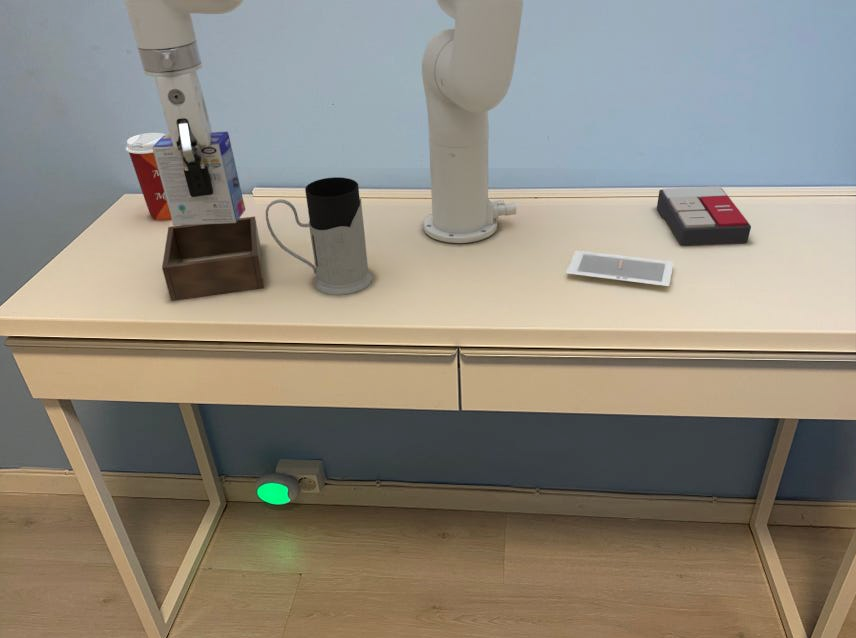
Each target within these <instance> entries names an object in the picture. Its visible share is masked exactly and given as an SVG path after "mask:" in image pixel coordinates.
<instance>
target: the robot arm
mask: <svg viewBox="0 0 856 638" xmlns="http://www.w3.org/2000/svg"><path fill="white" fill-rule="evenodd" d="M124 2H125V6H126V11H127V14H128V17H129V21H130V25H131V28H132V32H133V35H134V40H135V43H136V46H137V51H138V54H139V57H140V61H141V65H142V69H143V72H144V75H146V76H148V77H154V81H155V84H156V89H157V92H158V93H157V94H158V96H159V100H160V104H161V108H162V111H163V115H164V119H165V123H166V127H167V129H168V134H169V135H170V137H171V140H172V143H173V146H174V148H175V149H177V150H180V152H181V156H182V161H183V166H184V174H185V178H186V181H187V185H188V189H189V193H190V196H191V197H198V196H206V195H212V194H213V188H212V184H211V180H210V176H209V171H208V167H207V166H205V164H204V159H203V154H202V148H201V146H202V145H205V146H206V147H208V146H209V145H210V144H211V132H212V125H211V120H210V116H209V113H208V110H207V106H206V102H205V98H204V93H203V90H202V86H201V83H200V79H199V75H198V73H197V71H199V70H200V69H202V68H203V63H202V59H201V53H200V49H199V46H198V45H199V44H198V41H197V37H196V33H195V29H194V23H193V19H192V16H191V15H192V14H202V15H223V14H227V13H232V12H233V11H235V10H236V9H238V8H239V7H240V6H241V5H242V4H243V2H244V0H124ZM436 3H437V5H438V6H439V8H440V9H441V11H443V13H445V14H446V15H447V16H448V17H450V18H451V19H453V20H454V28H448V29H444V30H442V31H440V32H438V33H437V34H434V35H433V37H431V39H430V40H429V41H428V43H427V44H426V45H425V46H426V47H425V49H424V51H423V54H422V60H421V76H422V81H423V82H422V83H423V90H424V95H425V103H426V110H427V122H428V123H427V125H428V148H429V170H430V171H429V172H430V173H429V174H430V196H431V213H430V214H429V215H428V216H427V217H426V218H425V219H424V221H423V230H424V233H425V234H426V236H428V237H429V238H432V239H433V240H437V241H439V242H444V243H450V244H467V243H475V242H478V241H482V240H485V239H487V238H489V237H491V236H492V235H494V233H496V231H497V230H498V220H497V219H499V217H500V216H501V217H502V216H512V215H516V214H517V206H516V203H515V202H511V203H505V200H504V199H498V200H495V201H491V200H490V199H489V136H490V135H489V131H490V130H489V113H488V112H489V111H491V110H493V109H495V108H496V107H497V106H498V105H500V103H501V102H502V101H503V100H504V99H505V97H506V95H507V93H508V91H509V90H510V87H511V84H512V80H513V76H514V75H513V74H514V69H515V63H516V56H517V50H518V44H519V37H520V29H521V21H522V15H523V8H524V7H523V6H524V0H436ZM192 142H197V145H196V146H192ZM194 151H197V152H198V156H197V154H194Z"/></svg>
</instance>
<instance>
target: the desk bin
mask: <svg viewBox="0 0 856 638" xmlns="http://www.w3.org/2000/svg"><path fill="white" fill-rule="evenodd" d="M247 251H251V253H249V254H241V255H233V256H226V257H225V256H224V257H218V258H211V259H210V258H208V259H203V260H194V261H193V260H192V261H186V262H182V260H184V259H192V258H200V257H208V256H216V255H224V254H231V253H239V252H247ZM262 256H263V255H262V246H261V240H260V235H259V229H258V224H257V219H256V216H248V217H247V216H246V217H240V218H239V220H238V221H237V222H236V223H223V224H198V225H178V226H174V225H172V226H168V227H167V234H166V240H165V247H164V253H163V259H162V260H163V261H162V266H161V269H162V273H163V277H164V280H165V284H166V287H167V291H168V294H169V298H170V301H172V302H173V301H179V300H187V299H192V298H199V297H200V298H201V297H208V296H214V295H221V294H229V293H236V292H243V291H250V290H251V291H252V290H258V289H265V282H264V281H265V279H264V269H263V257H262Z"/></svg>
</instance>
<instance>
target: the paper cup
mask: <svg viewBox="0 0 856 638" xmlns="http://www.w3.org/2000/svg"><path fill="white" fill-rule="evenodd" d="M165 135H166V134H165V133H163V132H146V133H140V134H136V135H134V136H130V137H129V138H127V140H126V146H125V151H126V152H128V154H129V157H130V161H131V163H132V166H133V169H134V173H135V174H136V178H137V181H138V184H139V186H140V187H139V188H140V190H141V193H142V195H143V198H144V201H145V204H146V208H147V210H148V213H149V215H150V217H151V219H153V220H155V221H167V220H172V218H171V214H170V210H169V207H168V203H167V199H166V196H165V192H164V189H163V185H162V182H161V178H160V174H159V171H158V167H157V163H156V160H155V156H154V153H153V149H152V147H153V146H154V145H155V144H156V143H157V142H158V140H160V139H161V138H162V137H163V136H165Z"/></svg>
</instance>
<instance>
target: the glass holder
mask: <svg viewBox="0 0 856 638" xmlns="http://www.w3.org/2000/svg"><path fill="white" fill-rule="evenodd" d="M304 191H305V198H306V204H307V205H306V206H307V212H308V218H309V220H308V223H302V222H300V219H299V216H298V212H297V209H296V207H295V205H294V204H293V203H291V201H288V200H286V199H283V198H282V199H275V200H273V201H271V202H270V203H269V204H268V205H267V207H266V209H265V222H266V225H267V230H268V231H269V233H270V235H271V237H272V238H273V240H274V241H275V242H276V245H278V246H279V248H281V249H282V250H283V251H284V252H286V253H287V254H289V255H291V256H292V257H294V258H295V259H297V260H299V261H301V262H302V263H304V264H306V265H307V266H309V267H310V268H312V271H313V274H314V275H315V274H316V275H315V278H314V286H315V288H316V289H317V290H318V291H320V292H321V293H323V294H328V295H334V296H335V295H336V296H338V295H339V296H341V295H350V294H351V295H352V294H355V293H358V292H360V291H362V290H364V289H366V288H367V287H368V286H370V285H371V283H372V281H373V276H372V274H371V272H370V271H369V264H368V255H367V243H366V236H365V226H364V224H365V223H364V215H363V205H362V199H361V198H360V189H359V183H358V182H357V181H356V180H354V179H352V178H347V177H341V176H340V177H339V176H338V177H336V176H335V177H334V176H333V177H326V178H320V179H317V180H313V181H312V182H310V183H308V184H307V185H306V186H305V187H304ZM281 203H282V204H284V205H287V206H288V207H289V208H290V209H291V210H292V212H293V214H294V218H295V219H294V220H295V222H296V224H297V226H299V227H301V228H309V233H310V240H311V242H310V243H311V247H312V255H313V262H314V264H313V263H312V262H311V261H309V260H308V259H306V258H304V257H302V256H301V255H299V254H297V253H296V252H293V250H291V249H290V248H288V247H286V246H285V244H283V243H282V242H281V241H280V240H279V238H278V237H277V236H276V234H275V232H274V230H273V227H272V225H271V222H270V219H269V211H270V208H271V207H272V206H274V205H276V204H281Z"/></svg>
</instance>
